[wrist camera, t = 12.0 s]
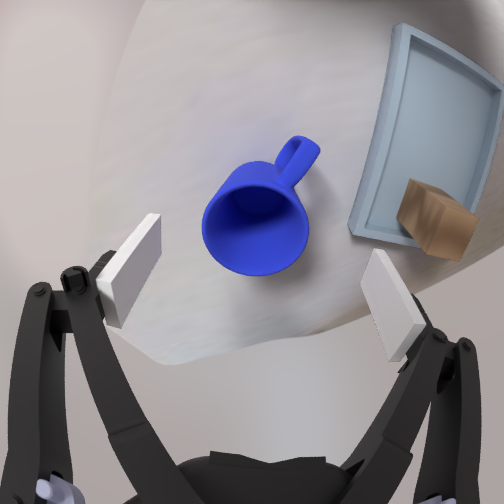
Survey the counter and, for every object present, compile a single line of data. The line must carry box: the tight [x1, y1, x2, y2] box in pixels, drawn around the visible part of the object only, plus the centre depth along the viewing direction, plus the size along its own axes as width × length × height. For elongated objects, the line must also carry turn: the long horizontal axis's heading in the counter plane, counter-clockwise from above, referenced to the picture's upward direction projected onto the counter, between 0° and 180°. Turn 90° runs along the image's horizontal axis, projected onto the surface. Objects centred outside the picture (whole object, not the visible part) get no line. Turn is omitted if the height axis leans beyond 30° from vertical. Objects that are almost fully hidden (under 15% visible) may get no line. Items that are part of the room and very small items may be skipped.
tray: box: [348, 23, 504, 249], centre depth 24 cm, size 24×16×2 cm, turn 172°
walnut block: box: [396, 178, 479, 261], centre depth 25 cm, size 5×5×8 cm
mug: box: [202, 136, 320, 276], centre depth 24 cm, size 8×12×10 cm
